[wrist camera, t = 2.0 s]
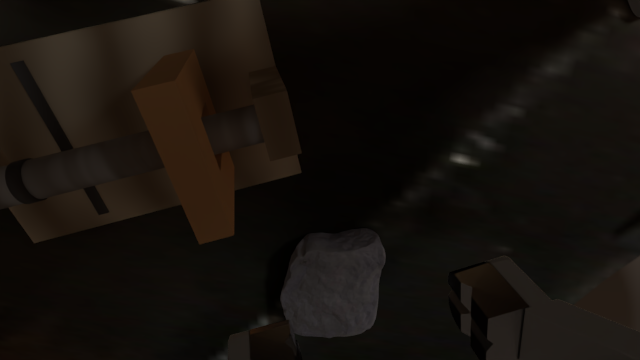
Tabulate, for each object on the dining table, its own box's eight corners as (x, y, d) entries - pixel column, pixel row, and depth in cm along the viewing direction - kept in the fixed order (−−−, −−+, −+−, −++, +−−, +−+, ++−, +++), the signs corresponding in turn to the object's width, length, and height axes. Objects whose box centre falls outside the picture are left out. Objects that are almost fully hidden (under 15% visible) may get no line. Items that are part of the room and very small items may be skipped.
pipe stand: (256, -11, 26) (264, -6, 19) (298, 165, 33) (317, 218, 26) (-76, 63, 25) (-209, 99, 17) (42, 232, 31) (-17, 309, 24)
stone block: (283, 307, 43) (370, 310, 44) (279, 341, 39) (375, 345, 39) (283, 218, 38) (382, 222, 39) (279, 245, 34) (390, 250, 34)
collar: (193, 48, 25) (175, 80, 17) (234, 167, 29) (234, 235, 22) (163, 55, 25) (130, 90, 17) (209, 173, 29) (199, 244, 21)
